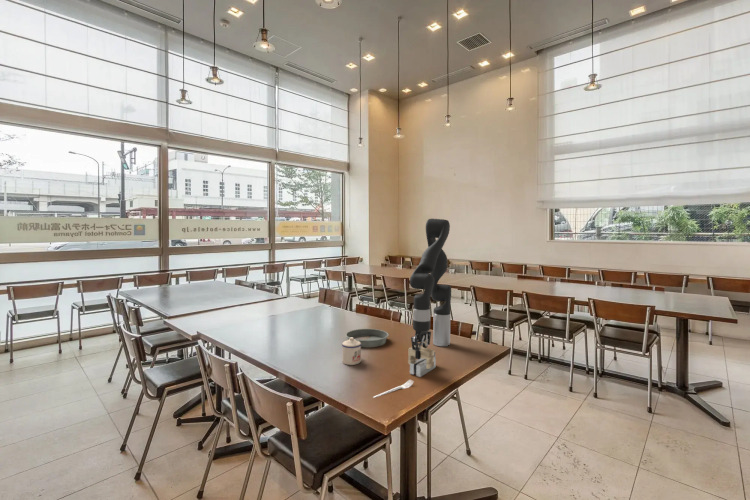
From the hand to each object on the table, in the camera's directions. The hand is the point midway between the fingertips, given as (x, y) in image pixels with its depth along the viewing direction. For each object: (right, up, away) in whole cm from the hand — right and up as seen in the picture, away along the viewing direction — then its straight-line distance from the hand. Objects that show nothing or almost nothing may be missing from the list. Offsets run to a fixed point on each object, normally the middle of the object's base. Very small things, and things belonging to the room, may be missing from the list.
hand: (421, 357), depth 157 cm
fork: (-13, -8, -18) cm, 23 cm away
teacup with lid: (-31, -6, +14) cm, 35 cm away
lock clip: (0, -3, 0) cm, 3 cm away
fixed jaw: (+2, -7, +2) cm, 8 cm away
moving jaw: (+1, -7, +4) cm, 8 cm away
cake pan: (-25, -5, +46) cm, 53 cm away
